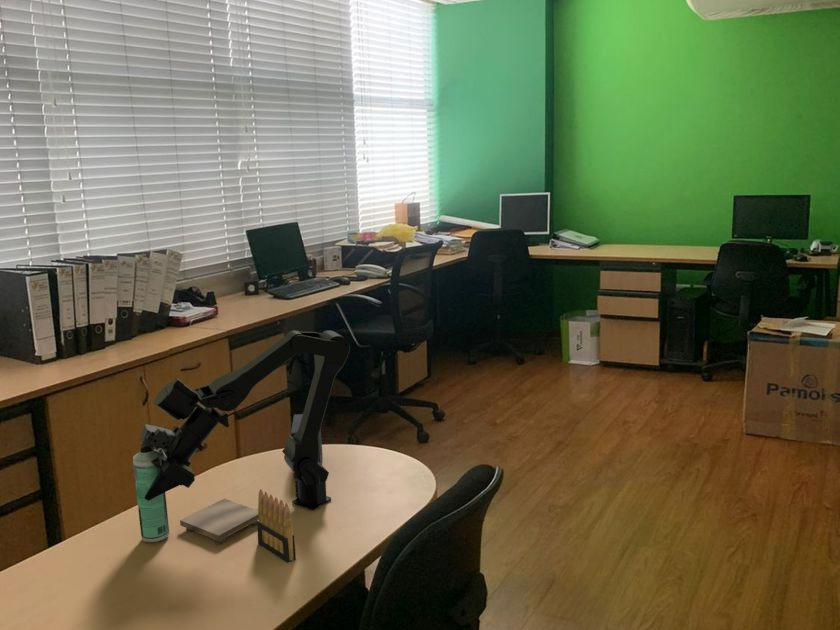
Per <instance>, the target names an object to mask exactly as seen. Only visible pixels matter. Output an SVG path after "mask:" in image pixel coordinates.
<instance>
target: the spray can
mask: <svg viewBox="0 0 840 630" xmlns="http://www.w3.org/2000/svg"><path fill="white" fill-rule="evenodd" d="M154 449H155V448H154V447H153V448H152V447H147V446H144V445H142V444H141V446H140V449H139V451H138V453H136V454H134V455H133V457H132V463H133V464H132V467H133V473H134V483H135V491H136V499H137V511H138V519H139V526H140V527H139V528H140V536H141V539H142V541H143V542H146V543H154V542H155V543H156V542H160V541H162V540H164V539H166V538H167V537H169V535H170V526H169V516H168V508H167V507H168V506H167V497H166V492H164V493H163V494H161V495H159V496H157V497H155V498H153V499H151V500H149V501H148V500H146V499H145V498H144V497H145V495H146V493H147V492H148V490H149V488H150V487H151V485H152V483H153V482H154V480H155V479H156V477H157V475H158V470H157V465H159V466H161V467H162V457H161V453H160V452H158V451H155V450H154Z"/></svg>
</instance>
